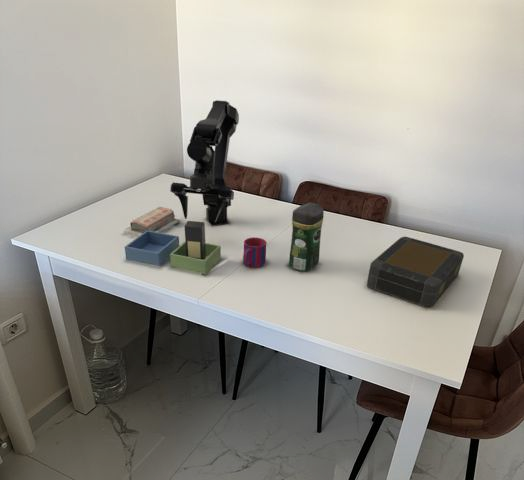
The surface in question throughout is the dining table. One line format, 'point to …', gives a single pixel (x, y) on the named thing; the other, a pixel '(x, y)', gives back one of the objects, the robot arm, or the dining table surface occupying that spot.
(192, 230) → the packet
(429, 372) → the dining table surface
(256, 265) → the red cup
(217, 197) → the robot arm
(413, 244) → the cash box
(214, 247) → the green bin
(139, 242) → the blue bin
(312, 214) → the coffee jar
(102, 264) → the dining table surface
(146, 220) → the packaged product
